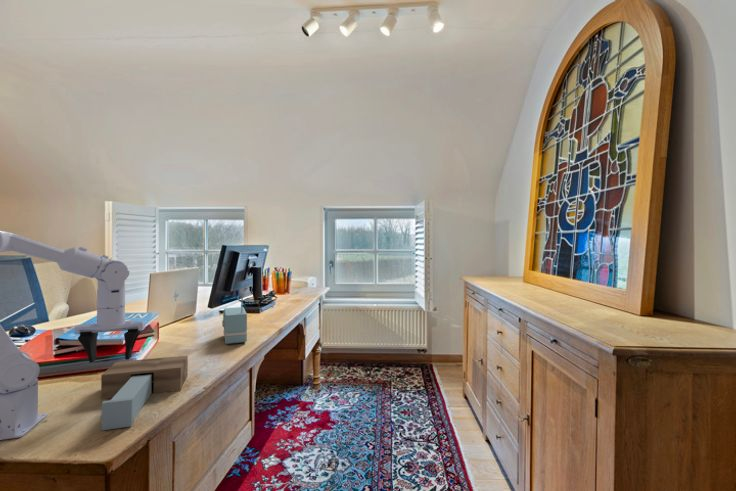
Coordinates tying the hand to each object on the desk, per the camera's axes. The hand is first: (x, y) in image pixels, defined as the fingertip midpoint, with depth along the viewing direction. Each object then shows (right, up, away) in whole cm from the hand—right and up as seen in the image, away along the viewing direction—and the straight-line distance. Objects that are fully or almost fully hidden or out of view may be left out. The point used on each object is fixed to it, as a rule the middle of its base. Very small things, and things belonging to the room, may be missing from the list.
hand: (110, 359), depth 87 cm
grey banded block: (+10, -10, +53) cm, 55 cm away
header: (+5, -10, +7) cm, 13 cm away
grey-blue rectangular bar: (+9, -10, -6) cm, 15 cm away
